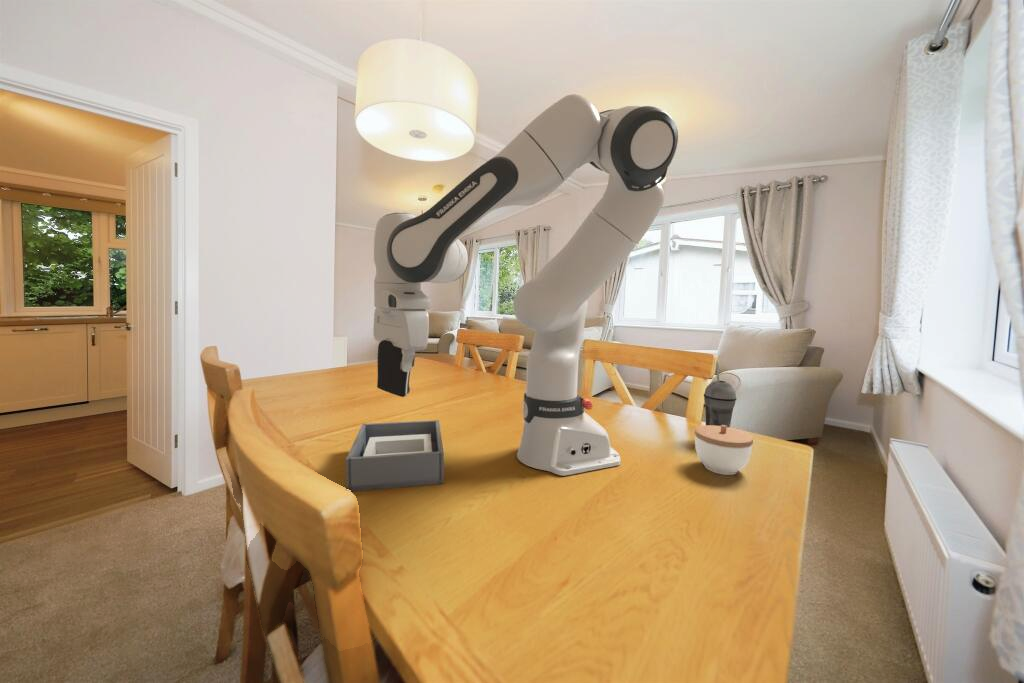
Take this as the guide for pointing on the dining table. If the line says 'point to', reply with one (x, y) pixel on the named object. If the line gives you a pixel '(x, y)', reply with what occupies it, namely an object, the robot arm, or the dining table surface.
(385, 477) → the socket box
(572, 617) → the dining table surface
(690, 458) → the dining table surface
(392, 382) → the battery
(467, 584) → the dining table surface
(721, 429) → the lidded jar
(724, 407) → the beverage cup
